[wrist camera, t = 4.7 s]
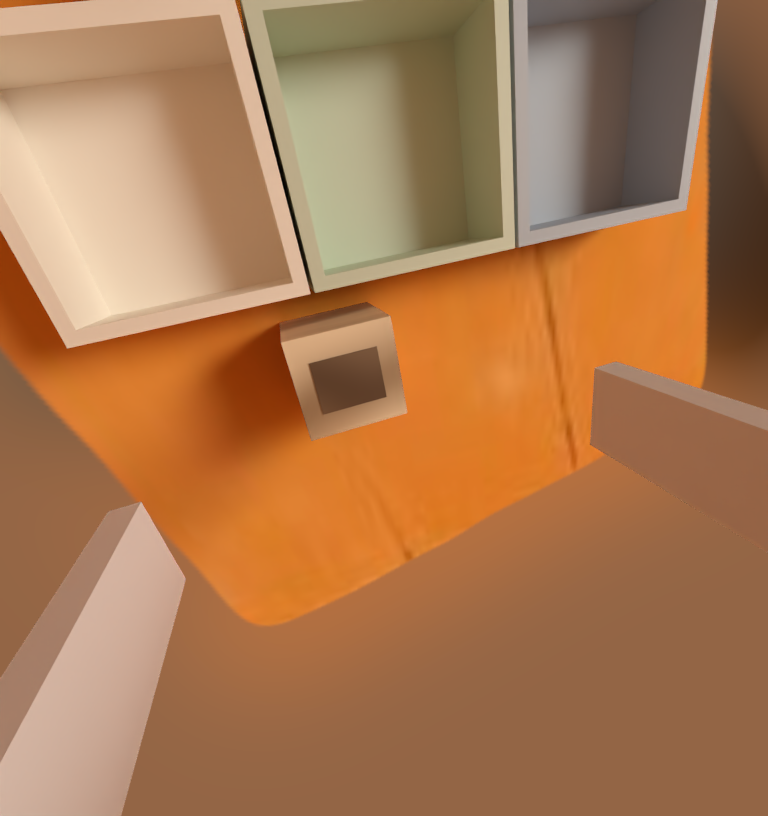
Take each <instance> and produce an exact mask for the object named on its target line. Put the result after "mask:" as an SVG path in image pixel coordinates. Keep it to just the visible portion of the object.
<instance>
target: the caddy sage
mask: <svg viewBox="0 0 768 816" xmlns="http://www.w3.org/2000/svg"><path fill="white" fill-rule="evenodd" d="M240 5H241V12H242V19H243V26H244V33H245V40H246V45H247V49H248V53H249V57H250V60H251V64H252V68H253V72H254V76H255V80H256V84H257V88H258V92H259V95H260V99H261V103H262V107H263V111H264V115H265V119H266V123H267V126H268V130H269V134H270V138H271V142H272V146H273V150H274V154H275V157H276V161H277V165H278V169H279V173H280V177H281V181H282V185H283V189H284V192H285V196H286V200H287V204H288V208H289V212H290V216H291V220H292V223H293V227H294V231H295V235H296V239H297V243H298V247H299V251H300V255H301V258H302V262H303V266H304V270H305V274H306V278H307V282H308V286H309V287H310V288H311V289H312V290H313V291H314V292H315V293H318V292H322V291H327V290H331V289H335V288H340V287H344V286H349V285H353V284H358V283H362V282H367V281H371V280H376V279H380V278H385V277H389V276H393V275H398V274H402V273H407V272H411V271H416V270H420V269H425V268H429V267H434V266H438V265H443V264H447V263H451V262H456V261H460V260H465V259H469V258H474V257H478V256H483V255H487V254H492V253H496V252H501V251H505V250H509V249H514V248H515V224H514V187H513V149H512V112H511V74H510V37H509V0H240Z"/></svg>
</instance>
